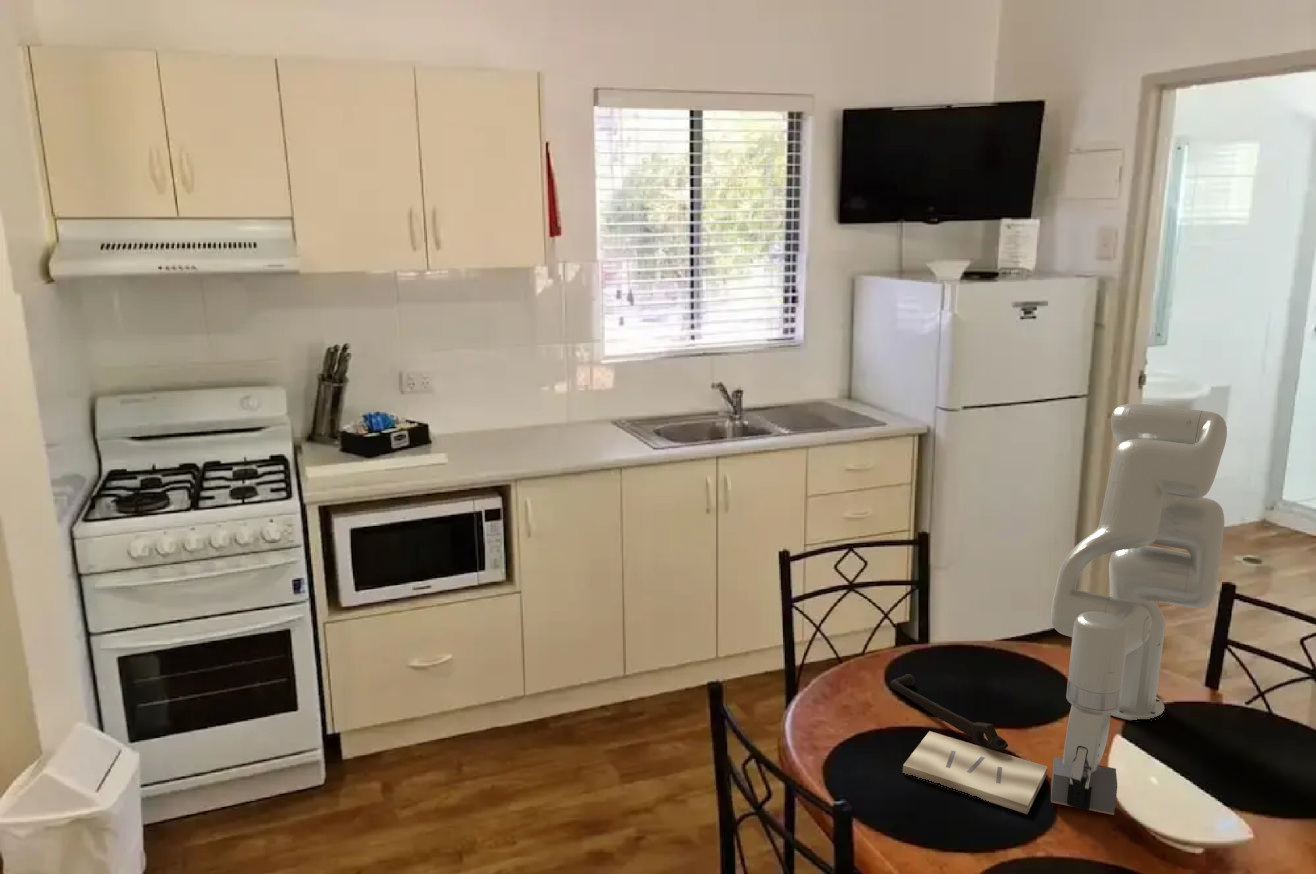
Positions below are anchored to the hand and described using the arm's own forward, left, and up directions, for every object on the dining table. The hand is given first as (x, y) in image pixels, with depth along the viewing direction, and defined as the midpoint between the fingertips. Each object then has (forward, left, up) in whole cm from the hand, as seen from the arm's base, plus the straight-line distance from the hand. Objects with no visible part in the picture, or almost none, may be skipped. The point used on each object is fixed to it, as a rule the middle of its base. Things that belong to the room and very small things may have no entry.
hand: (1082, 795), depth 153 cm
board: (+1, -17, -2) cm, 17 cm away
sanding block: (0, 0, -1) cm, 1 cm away
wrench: (-14, -26, -2) cm, 29 cm away
